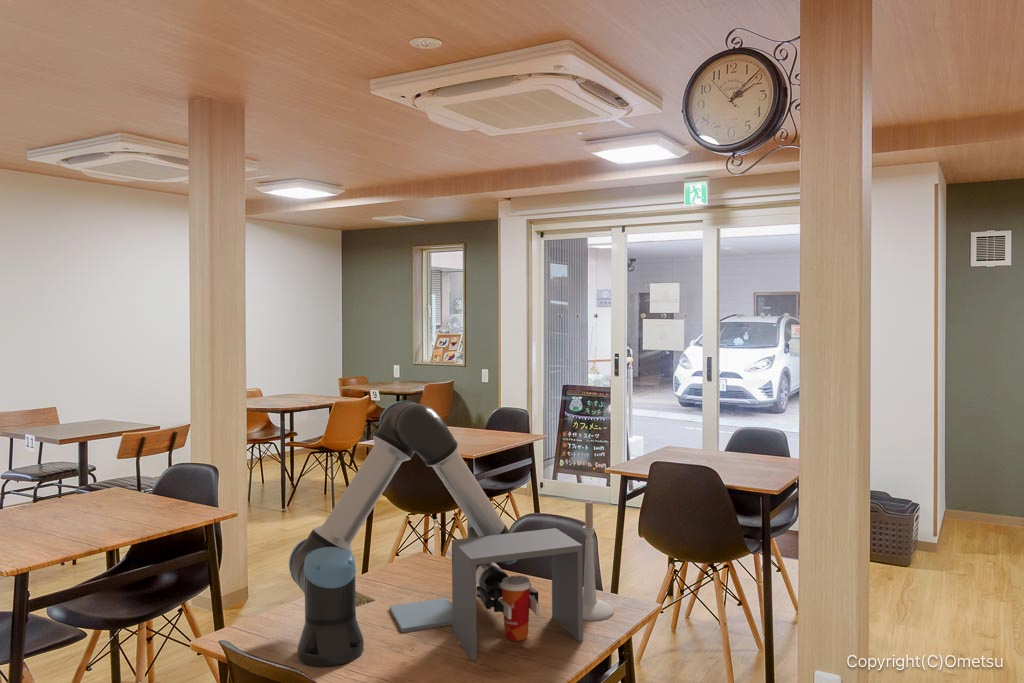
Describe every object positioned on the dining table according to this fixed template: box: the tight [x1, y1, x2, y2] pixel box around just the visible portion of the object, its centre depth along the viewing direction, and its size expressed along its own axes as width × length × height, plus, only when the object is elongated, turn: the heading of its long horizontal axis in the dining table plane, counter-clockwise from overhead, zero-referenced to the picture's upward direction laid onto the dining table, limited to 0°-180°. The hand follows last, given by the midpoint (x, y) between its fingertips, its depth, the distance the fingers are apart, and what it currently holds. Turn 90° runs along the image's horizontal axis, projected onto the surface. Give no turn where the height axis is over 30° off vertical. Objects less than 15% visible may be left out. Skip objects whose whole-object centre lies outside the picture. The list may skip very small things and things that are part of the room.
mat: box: [389, 597, 453, 633], centre depth 194 cm, size 16×16×1 cm
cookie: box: [355, 590, 376, 607], centre depth 206 cm, size 12×12×1 cm
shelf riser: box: [451, 527, 584, 661], centre depth 181 cm, size 28×16×24 cm, turn 110°
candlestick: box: [582, 500, 615, 622], centre depth 196 cm, size 13×13×30 cm
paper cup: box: [500, 575, 532, 642], centre depth 181 cm, size 8×8×14 cm
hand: (523, 611), depth 176 cm, fingers closed on paper cup, 6 cm apart
